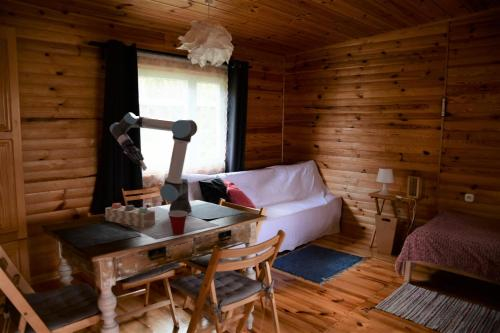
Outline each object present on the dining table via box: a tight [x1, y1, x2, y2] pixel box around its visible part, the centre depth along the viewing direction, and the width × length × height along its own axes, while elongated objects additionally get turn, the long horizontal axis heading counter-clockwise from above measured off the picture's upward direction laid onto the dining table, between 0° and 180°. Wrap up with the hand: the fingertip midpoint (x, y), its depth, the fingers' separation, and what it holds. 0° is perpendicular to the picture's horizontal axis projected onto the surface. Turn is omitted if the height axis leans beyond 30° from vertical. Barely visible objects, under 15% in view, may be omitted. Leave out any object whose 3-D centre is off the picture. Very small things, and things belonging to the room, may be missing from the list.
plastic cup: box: [167, 211, 189, 236], centre depth 206 cm, size 11×11×12 cm
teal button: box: [138, 206, 149, 213], centre depth 225 cm, size 5×5×5 cm
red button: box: [111, 202, 122, 209], centre depth 237 cm, size 5×5×5 cm
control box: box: [105, 205, 156, 228], centre depth 232 cm, size 33×10×8 cm, turn 59°
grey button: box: [125, 204, 135, 211], centre depth 231 cm, size 5×5×5 cm
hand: (145, 169), depth 238 cm, fingers closed
